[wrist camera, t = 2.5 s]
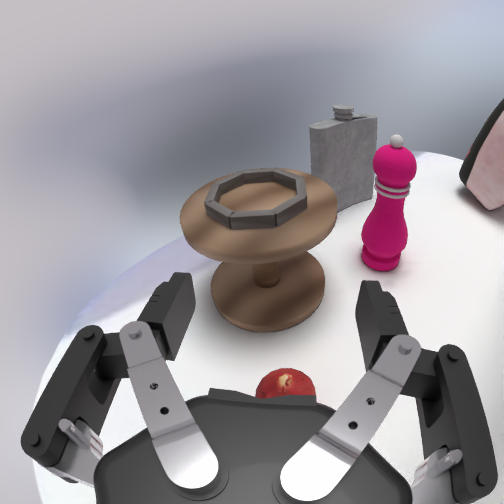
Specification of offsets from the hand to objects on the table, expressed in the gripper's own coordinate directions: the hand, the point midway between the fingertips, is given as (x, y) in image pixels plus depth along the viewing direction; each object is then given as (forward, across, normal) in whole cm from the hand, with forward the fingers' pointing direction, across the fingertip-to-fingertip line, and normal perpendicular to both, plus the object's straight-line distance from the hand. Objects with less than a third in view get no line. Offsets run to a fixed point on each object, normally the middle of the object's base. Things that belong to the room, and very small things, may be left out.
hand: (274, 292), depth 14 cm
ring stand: (+23, +2, +17) cm, 29 cm away
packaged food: (+46, -52, +9) cm, 70 cm away
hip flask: (+44, -12, +12) cm, 47 cm away
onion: (+5, -1, +20) cm, 21 cm away
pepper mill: (+28, -16, +15) cm, 36 cm away
